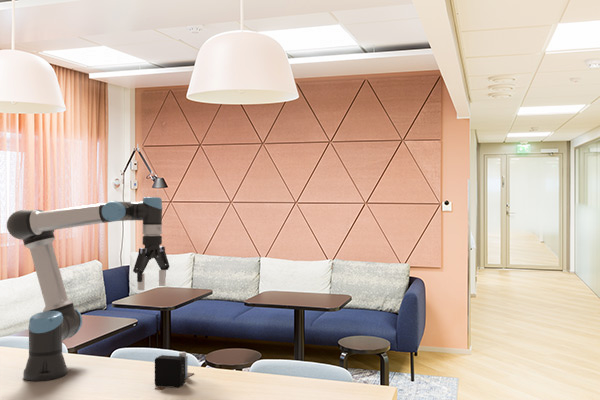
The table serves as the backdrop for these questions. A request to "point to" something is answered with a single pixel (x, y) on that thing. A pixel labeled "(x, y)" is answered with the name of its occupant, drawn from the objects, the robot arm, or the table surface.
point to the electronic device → (169, 371)
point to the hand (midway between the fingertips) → (151, 287)
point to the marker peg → (185, 362)
